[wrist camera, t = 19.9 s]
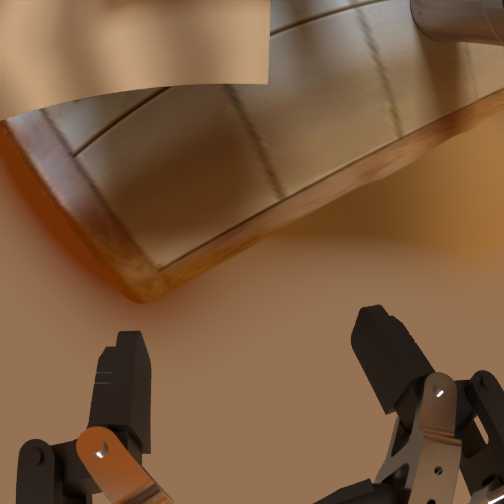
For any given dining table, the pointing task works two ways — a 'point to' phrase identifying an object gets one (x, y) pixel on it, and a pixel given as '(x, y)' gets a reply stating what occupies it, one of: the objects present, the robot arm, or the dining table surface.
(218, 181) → the dining table surface
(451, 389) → the robot arm
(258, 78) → the wooden shelf stand
